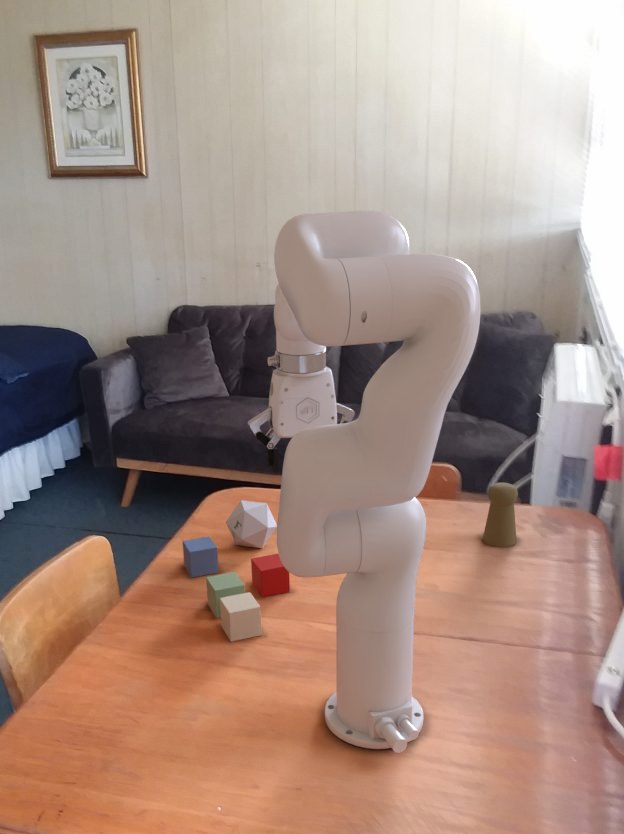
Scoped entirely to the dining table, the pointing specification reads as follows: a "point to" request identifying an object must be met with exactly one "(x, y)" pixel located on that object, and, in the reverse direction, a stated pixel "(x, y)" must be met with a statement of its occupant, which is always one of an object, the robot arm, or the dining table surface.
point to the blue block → (200, 556)
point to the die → (251, 524)
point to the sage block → (222, 589)
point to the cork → (501, 515)
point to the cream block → (240, 616)
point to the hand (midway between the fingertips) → (302, 465)
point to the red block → (269, 575)
